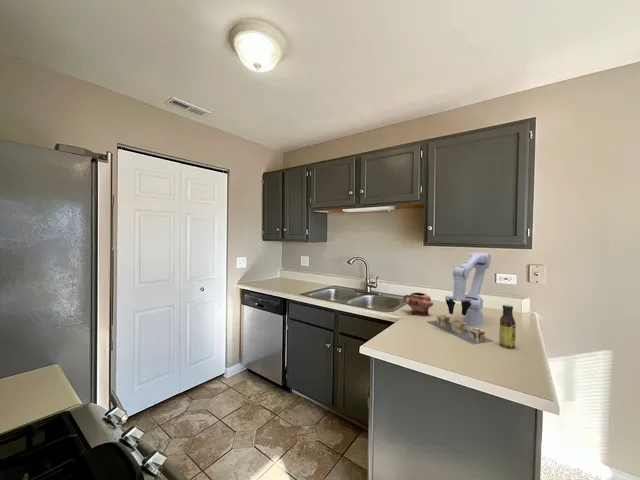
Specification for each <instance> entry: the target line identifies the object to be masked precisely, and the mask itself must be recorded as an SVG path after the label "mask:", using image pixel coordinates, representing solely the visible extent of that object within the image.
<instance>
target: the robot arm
mask: <svg viewBox="0 0 640 480" xmlns="http://www.w3.org/2000/svg"><path fill="white" fill-rule="evenodd" d="M491 261H492V258H491V254H490V253H489V252H474V251H473V252H471V253H470V255H469V259H468V260H465V261H464V262H463V263H461V264H460V265H459V266H457V267H454V269H453V271H452V275H453V276H452V277H453V293H452V296H451V295H450V296H449V295H445V302H446V305H447V308H448V313H449V315H453V314H454V308H455V305H456V301H457V302H461V305H460V306H461V315H462V316H464V323H466V327H469V328H481V327H484V314H483V311H482V310H483V306H484V299H483V298H482V297H481V296H480V292H481V289H482V285H483V282H484V281H483V280H484V278H485V274H486V270H488V269H489V268H490V265H491ZM473 269H475V271H474V274H473V279H472V282H471V286H470V290H469V292H468V293H466V287H467V279H468V278H469V277H470V275H471V274H470V273H471V272H472V270H473Z"/></svg>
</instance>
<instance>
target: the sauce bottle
mask: <svg viewBox="0 0 640 480" xmlns="http://www.w3.org/2000/svg"><path fill="white" fill-rule="evenodd" d="M513 310H514V306H513V305H510V304H502V315H501V316H500V318H499V336H498V337H499V342H498V343H499V346H500V347H502V348H504V349H508V350H514V349H515V348H516V339H517V338H516V337H517V335H516V333H517V332H516V329H517V328H516V327H517V325H516V320H515V318H514V316H513V314H514V313H513V312H514V311H513Z"/></svg>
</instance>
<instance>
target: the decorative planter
mask: <svg viewBox="0 0 640 480" xmlns="http://www.w3.org/2000/svg"><path fill="white" fill-rule="evenodd" d="M406 298H408V302H407V299H406ZM431 298H432V297H431V296H430V295H428V294H426V293H422V292H412V293H410V294H405V295H404V296H403V301H404V303H406V305H408V306H409V307H410V309H411V313H412V314H413V315H414V316H419V317H425V316H426V317H427V316H428V315H429V309H430V308H431V307H433V306H434V303H433V301H432V299H431Z"/></svg>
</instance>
